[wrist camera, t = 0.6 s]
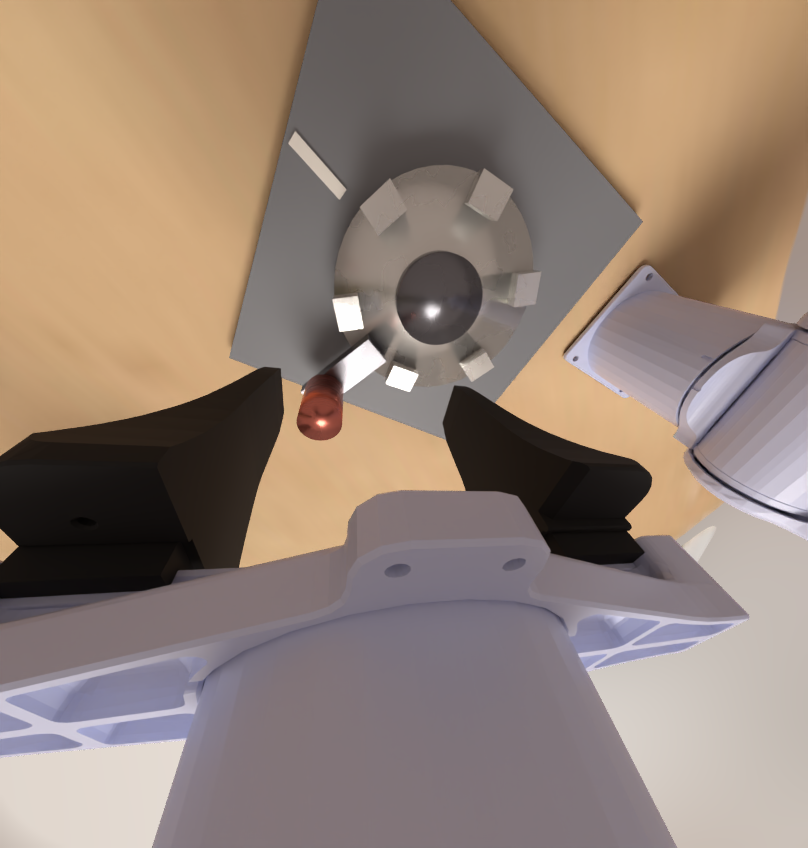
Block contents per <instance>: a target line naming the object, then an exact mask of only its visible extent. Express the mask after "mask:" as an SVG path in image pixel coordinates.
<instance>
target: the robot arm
mask: <svg viewBox="0 0 808 848" xmlns="http://www.w3.org/2000/svg"><path fill="white" fill-rule="evenodd" d="M648 274H649V275H648ZM647 275H648V277H647ZM646 277H647V278H646ZM575 356H576V357H575ZM574 357H575V358H574ZM573 358H574V359H573ZM564 359H565V360H566V361H568V362H569V363H571V364H572V365H574V366H575V367H577V368H578V369H580V370H581V371H583V372H584V373H586V374H588V375H589V376H591V377H592V378H594V379H595V380H597V381H598V382H600V383H601V384H603V385H604V386H606V387H607V388H609V389H611V390H612V391H614V392H615V393H617V394H618V395H620V396H621V397H623V398H627V397H629V396H631V397H632V398H634V399H635V400H637V401H638V402H640V403H641V404H643V405H644V406H646V407H648V408H649V409H651V410H652V411H654V412H655V413H657V414H658V415H660V416H661V417H663V418H664V419H666V420H668V421H669V422H671V423H672V424H674V425H675V426H677V427H678V429H677V431H676V433H675V434H674V436H673V437H674V438H675V439H677V440H678V441H680V442H681V443H683V444H684V445H686V446H687V447H688V449H687V450H686V451H685V452H684V457H683V458H684V462H685V464H686V466H687V467H688V469H689V470H690V471H691V473H692V475H693V476H694V478H695V479H696V480H697V481H698V482H699V483H700V484H701V485H702V486H703V487H704V488H706V489H707V490H708V491H709V492H711V493H712V494H713V495H715V496H716V497H718V498H719V499H721V500H722V501H724V502H726V503H727V504H729V505H731V506H733V507H735V508H736V509H738V510H740V511H743V512H745V513H747V514H749V515H751V516H754V517H756V518H759V519H762V520H765V521H768V522H771V523H773V524H775V525H777V526H780V527H782V528H784V529H786V530H788V531H790V532H792V533H794V534H796V535H798V536H800V537H802V538H804V539H806V540H807V541H808V312H807V313H806V314H804V316H803V317H802V318H801V319H800V320H799V321H798V322H797V324H795V323H787V322H783V321H779V320H775V319H771V318H767V317H763V316H758V315H754V314H750V313H746V312H742V311H738V310H734V309H730V308H726V307H722V306H718V305H714V304H710V303H706V302H702V301H698V300H694V299H690V298H686V297H682V296H679V295H678V294H677V293H676V292H675V291H674V290H673V289H672V288H671V286H670V285H669V284H668V283H667V282H666V281H665V280H664V279H663V278H662V277H661V276H660V275H659V274H658V273H657V272H656V271H655V270H654V269H653V267H652V266H650V265H643V266H641V267H640V268H639V269H638V270H637V271H636V272H635V273H634V274H633V275H632V277H631V278H630V279H629V280H628V281H627V282H626V283H625V285H624V286H623V287H622V288H621V289H620V290H619V291H618V293H617V294H616V295H615V296H614V297H613V298H612V299H611V301H610V302H609V303H608V304H607V305H606V306H605V308H604V309H603V310H602V311H601V312H600V313H599V314H598V316H597V317H596V318H595V319H594V320H593V321H592V322H591V324H590V325H589V326H588V327H587V328H586V329H585V330H584V332H583V333H582V334H581V335H580V336H579V337H578V338H577V340H576V341H575V342H574V343H573V344H572V345H571V346H570V348H569V349H568V350H567V351H566V352H565V354H564ZM283 414H284V406H283V392H282V377H281V368H273V367H262V368H259V369H257V370H255V371H253V372H252V373H250V374H248V375H246V376H244V377H242V378H240V379H239V380H237V381H235V382H233V383H231V384H229V385H227V386H225V387H223V388H221V389H218V390H216V391H214V392H212V393H210V394H208V395H205V396H203V397H200V398H198V399H195V400H192V401H190V402H187V403H184V404H181V405H178V406H175V407H171V408H168V409H164V410H160V411H157V412H153V413H150V414H146V415H142V416H137V417H133V418H128V419H124V420H119V421H113V422H108V423H103V424H97V425H91V426H84V427H77V428H70V429H63V430H55V431H48V432H40V433H33V434H31V435H30V436H28V437H27V438H25V439H24V440H23V441H21V442H20V443H18V444H17V445H15V446H14V447H13V448H11V449H10V450H8V451H7V452H5V453H4V454H2V455H1V456H0V529H1V530H2V531H3V532H4V533H5V534H6V535H8V536H9V537H10V538H11V539H12V540H13V541H14V542H15V543H16V544H17V545H18V546H19V547H18V548H17V549H16V550H15V551H14V552H13V553H12V554H11V555H10V556H9V557H7V558H6V559H5V560H4V561H3V562H2V561H0V758H2V757H12V756H20V755H21V756H22V755H31V754H41V753H51V752H63V751H73V750H85V749H95V748H106V747H117V746H128V745H138V744H148V743H160V742H171V741H180V740H181V741H182V740H186V742H185V745H184V749H183V752H182V755H181V758H180V761H179V765H178V768H177V771H176V774H175V778H174V780H173V783H172V787H171V789H170V793H169V796H168V799H167V802H166V805H165V808H164V812H163V815H162V818H161V821H160V824H159V827H158V830H157V834H156V837H155V840H154V843H153V846H152V848H677V846H676V844H675V843H674V841H673V839H672V837H671V835H670V833H669V831H668V829H667V827H666V825H665V823H664V821H663V819H662V817H661V815H660V813H659V811H658V809H657V808H656V806H655V804H654V802H653V800H652V798H651V796H650V794H649V792H648V790H647V788H646V786H645V784H644V782H643V780H642V778H641V776H640V774H639V772H638V770H637V768H636V767H635V764H634V762H633V761H632V759H631V757H630V755H629V753H628V751H627V749H626V747H625V745H624V743H623V741H622V739H621V737H620V735H619V733H618V731H617V729H616V727H615V725H614V724H613V721H612V720H611V718H610V716H609V714H608V712H607V710H606V708H605V706H604V704H603V702H602V700H601V698H600V696H599V694H598V692H597V690H596V688H595V686H594V685H593V682H592V681H591V679H590V677H589V675H588V673H587V672H588V671H592V670H597V669H601V668H605V667H609V666H614V665H618V664H622V663H627V662H631V661H636V660H641V659H646V658H650V657H656V656H662V655H667V654H673V653H679V652H683V651H686V650H688V649H690V648H692V647H694V646H696V645H698V644H700V643H702V642H704V641H706V640H708V639H710V638H712V637H714V636H716V635H718V634H720V633H722V632H724V631H726V630H728V629H730V628H732V627H734V626H736V625H738V624H740V623H742V622H745V621H747V620H749V614H747V613H746V611H745V610H744V609H743V608H742V607H741V606H740V605H739V604H738V603H737V602H735V600H734V599H732V597H731V596H730V595H729V594H728V593H727V592H726V591H725V590H724V589H723V588H722V587H721V586H720V585H719V584H718V583H717V582H716V581H715V580H714V579H713V578H712V577H711V576H710V575H709V574H708V573H707V572H706V571H705V570H704V569H703V568H702V567H701V566H700V565H699V564H698V563H697V562H696V561H695V560H694V559H693V558H692V557H691V556H690V555H689V554H688V553H687V552H686V551H685V550H684V549H683V548H682V547H681V546H680V545H679V544H678V543H677V542H676V541H675V540H674V539H673V538H672V537H671V536H668V535H655V536H641V537H638V538H636V539H633V538H632V537H631V535H630V534H629V533H628V532H627V531H629V530H630V529H631V528H632V527H631V524H630V523H629V522H628V521H627V520H626V519H625V517H626V516H627V515H628V514H629V513H630V512H631V511H632V510H633V509H634V508H635V507H636V506H637V505H638V504H639V503H640V502H641V501H642V499H643V498H644V497H645V496H646V495H647V493H648V492H649V490H650V488H651V483H652V477H651V475H650V473H649V472H648V471H647V470H646V469H645V468H644V467H642V466H641V465H640V464H639V463H638V462H636V461H634V460H632V459H629V458H625V457H621V456H617V455H613V454H609V453H605V452H602V451H598V450H595V449H592V448H588V447H585V446H582V445H579V444H576V443H573V442H571V441H568V440H565V439H563V438H560V437H558V436H555V435H553V434H550V433H548V432H546V431H543V430H541V429H539V428H537V427H535V426H533V425H531V424H529V423H527V422H525V421H523V420H522V419H520V418H518V417H516V416H515V415H513V414H511V413H509V412H508V411H506V410H505V409H503V408H501V407H500V406H498V405H497V404H495V403H494V402H492V401H491V400H489V399H488V398H486V397H484V396H483V395H481V394H480V393H478V392H477V391H475V390H473V389H471V388H469V387H467V386H457V385H454V387H453V390H452V394H451V397H450V400H449V403H448V406H447V410H446V413H445V416H444V419H443V422H442V424H443V428H444V433H445V437H446V441H447V444H448V446H449V449H450V451H451V454H452V456H453V459H454V461H455V464H456V466H457V468H458V471H459V473H460V476H461V478H462V481H463V484H464V486H465V490H466V491H416V490H400V491H394V492H388V493H382V494H377V495H376V496H374V497H372V498H371V499H369V500H367V501H366V502H364V503H362V504H361V505H359V506H357V507H356V509H355V511H354V513H353V514H352V516H351V518H350V520H349V522H348V529H347V538H346V541H345V544H344V545H341V546H337V547H332V548H328V549H324V550H319V551H315V552H311V553H306V554H302V555H298V556H293V557H289V558H284V559H280V560H276V561H271V562H267V563H263V564H258V565H254V566H250V567H244V568H239V564H240V559H241V555H242V550H243V546H244V541H245V537H246V533H247V528H248V524H249V520H250V516H251V512H252V508H253V504H254V501H255V497H256V493H257V489H258V486H259V483H260V480H261V477H262V474H263V472H264V469H265V467H266V464H267V462H268V459H269V457H270V454H271V452H272V450H273V447H274V445H275V442H276V440H277V437H278V434H279V432H280V428H281V424H282V419H283Z"/></svg>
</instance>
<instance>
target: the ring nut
mask: <svg viewBox="0 0 808 848" xmlns="http://www.w3.org/2000/svg"><path fill="white" fill-rule="evenodd" d="M513 190H514V189H512V188H511V187H510V186H508V185H507V184H506V183H504V182H503V181H501V180H500V179H499V178H497V177H496V176H494V175H493V174H492V173H490V172H489V171H488V170H486V169H485V168H483V169H480V170H478V172H476V171H473V170H470V169H468V168H464V167H459V166H453V165H432V166H427V167H422V168H417V169H414V170H412V171H409V172H407V173H404V174H401V175H400V176H398V177H396V178H395V179H393V180H391V179H389V180H388V181H387V182H385V183H384V184H383V185H382V186H381V187H380V188H379V189H378V190H377V191H376V192H375V193H374V194H373V195H372V196H371V197H370V198H368V199H367V200H366V201H365V202H364V203H363V204H362V205H361V206H360V209H359V211H358V212H357V214H356V215H355V217H354V218H353V220H352V221H351V223H350V225H349V227H348V229H347V231H346V233H345V235H344V238H343V241H342V244H341V247H340V249H339V253H338V257H337V262H336V267H335V277H334V296H333V298H332V300H333V304H334V309H335V313H336V318H337V322H338V326H339V331H340V332H342V331H343V332H344V334H345V337H346V339H347V340H348V342H349V344H350V345H351V347H350V348H349V349H348V350H347V351H345V352H344V353H343V354H341V355H340V356H339V357H338V358H336V359H335V360H334V361H333V362H331V363H330V364H329V365H328V366H326V367H325V368H324V369H322V370H321V371H320V372H319V373H317V374H316V375H315V376H314V377H312V378H311V379H310V380H309V381H307V382H306V383H305V384H304V385H303V386H302V390H301V393H302V394H303V398H302V402H301V405H300V409H299V413H298V417H297V426H298V429H299V430H300V432H301V433H302V434H303V435H305V436H306V437H308V438H310V439H314V440H328V439H331V438H333V437H335V436H336V435H337V434H338V433H339V432H340V430H341V427H342V412H343V393H345V392H346V391H347V390H349V389H350V388H352V387H353V386H354V385H356V384H357V383H358V382H360V381H361V380H362V379H364V378H365V377H366V376H368V375H369V374H370V373H372V372H373V371H375V372H377V373H378V374H380V375H382V376H383V377H385V383H386V384H388V385H391V386H394V387H397V388H400V389H403V390H406V391H409V392H410V390H411V388H412V386H416V387H432V386H440V385H445V384H449V383H452V382H455V381H458V380H461V379H463V378H465V377H467V376H468V378H469V379H470V380H471V382H473V381H474V380H476V379H477V378H479V377H480V376H482V375H483V374H485V373H486V372H488V371H489V370H491V369H492V368H494V366H493V364H492V362H491V360H492V359H493V358H494V357H495V356H496V355H497V354H498V353H499V352H500V351H501V350H502V348H503V347H504V346H505V345H506V344H507V342H508V341H509V339H510V338H511V337H512V335H513V334H514V332H515V330H516V328H517V327H518V325H519V323H520V321H521V319H522V316H523V314H524V312H525V309H526V306H528V305H535V304H536V299H537V294H538V288H539V283H540V277H541V271H538V270H535V269H534V270H533V253H532V246H531V240H530V237H529V233H528V229H527V226H526V224H525V222H524V219H523V217H522V215H521V213H520V211H519V210H518V208H517V206H516V205H515V203H514V201H513V200H512V199H511V198H510V196H511V194H512V192H513Z"/></svg>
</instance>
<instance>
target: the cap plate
mask: <svg viewBox="0 0 808 848" xmlns="http://www.w3.org/2000/svg"><path fill="white" fill-rule="evenodd" d="M432 165H453V166H459V167H464V168H468V169H470V170H473V171H476V172H478V170H480V169H483V168H485V169H486V170H488V171H489V172H490V173H492V174H493V175H494V176H496V177H497V178H499V179H500V180H501V181H503V182H504V183H506V184H507V185H508V186H510V187H511V188H512V189H514V190H513V192H512V194H511V196H510V198H511V199H512V200H513V201H514V203H515V205H516V206H517V208H518V210H519V211H520V213H521V215H522V217H523V219H524V222H525V224H526V226H527V229H528V233H529V237H530V240H531V246H532V253H533V270H534V269H535V270H538V271H541V277H540V283H539V288H538V294H537V299H536V304H535V305H528V306H526V309H525V312H524V314H523V316H522V319H521V321H520V323H519V325H518V327H517V328H516V330H515V332H514V334H513V335H512V337H511V338H510V339H509V341H508V342H507V344H506V345H505V346H504V347H503V348H502V350H501V351H500V352H499V353H498V354H497V355H496V356H495V357H494V358H493V359H492V360H491V362H492V364H493V366H494V368H492V369H491V370H489V371H488V372H486V373H485V374H483V375H482V376H480V377H479V378H477V379H476V380H474V381H473V382H471V380H470V379H469V378H468V376H467V377H465V378H463V379H461V380H458V381H455V382H452V383H449V384H445V385H440V386H432V387H416V386H412V388H411V390H410V392H409V391H406V390H403V389H400V388H397V387H394V386H391V385H388V384H386V383H385V377H383V376H382V375H380V374H378V373H377V372H375V371H373V372H372V373H370V374H369V375H368V376H366V377H365V378H364V379H362V380H361V381H360V382H358V383H357V384H356V385H354V386H353V387H352V388H350V389H349V390H347V391H346V392H345V393H343V401H345V402H347V403H350V404H353V405H355V406H358V407H361V408H363V409H366V410H369V411H371V412H374V413H376V414H379V415H382V416H384V417H387V418H390V419H392V420H395V421H398V422H400V423H403V424H406V425H408V426H411V427H414V428H416V429H419V430H421V431H424V432H427V433H429V434H432V435H435V436H437V437H440V438H443V439H445V440H446V437H445V433H444V428H443V424H442V422H443V419H444V416H445V413H446V410H447V406H448V403H449V400H450V397H451V394H452V390H453V387H454V385H457V386H467V387H469V388H471V389H473V390H475V391H477V392H478V393H480V394H481V395H483V396H484V397H486V398H488V399H489V400H491V401H492V402H494V403H495V402H496V401H497V399H498V398H499V397H500V396H501V395H502V393H503V392H504V391H505V390H506V388H507V387H508V386H509V385H510V384H511V382H512V381H513V380H514V379H515V377H516V376H517V375H518V374H519V373H520V371H521V370H522V369H523V368H524V366H525V365H526V364H527V363H528V362H529V360H530V359H531V358H532V357H533V355H534V354H535V353H536V352H537V351H538V349H539V348H540V347H541V346H542V344H543V343H544V342H545V341H546V340H547V338H548V337H549V336H550V335H551V333H552V332H553V331H554V330H555V329H556V327H557V326H558V325H559V324H560V322H561V321H562V320H563V319H564V318H565V316H566V315H567V314H568V313H569V311H570V310H571V309H572V308H573V307H574V305H575V304H576V303H577V302H578V300H579V299H580V298H581V297H582V296H583V294H584V293H585V292H586V291H587V289H588V288H589V287H590V286H591V285H592V283H593V282H594V281H595V280H596V278H597V277H598V276H599V275H600V274H601V272H602V271H603V270H604V269H605V267H606V266H607V265H608V264H609V263H610V261H611V260H612V259H613V258H614V256H615V255H616V254H617V253H618V252H619V250H620V249H621V248H622V247H623V245H624V244H625V243H626V242H627V241H628V239H629V238H630V237H631V236H632V234H633V233H634V232H635V231H636V230H637V228H638V227H639V226H640V225H641V223H642V222H643V221H642V220H641V219H640V218H639V217H638V215H637V214H636V213H635V212H634V211H633V210H632V208H631V207H630V206H629V205H628V204H627V203H626V202H625V200H624V199H623V198H622V197H621V196H620V195H619V194H618V192H617V191H616V190H615V189H614V188H613V187H612V185H611V184H610V183H609V182H608V181H607V180H606V179H605V177H604V176H603V175H602V174H601V173H600V172H599V171H598V169H597V168H596V167H595V166H594V165H593V164H592V162H591V161H590V160H589V159H588V158H587V157H586V156H585V154H584V153H583V152H582V151H581V150H580V149H579V147H578V146H577V145H576V144H575V143H574V142H573V141H572V139H571V138H570V137H569V136H568V135H567V134H566V133H565V131H564V130H563V129H562V128H561V127H560V126H559V124H558V123H557V122H556V121H555V120H554V119H553V118H552V116H551V115H550V114H549V113H548V112H547V111H546V110H545V108H544V107H543V106H542V105H541V104H540V103H539V101H538V100H537V99H536V98H535V97H534V96H533V95H532V93H531V92H530V91H529V90H528V89H527V88H526V87H525V85H524V84H523V83H522V82H521V81H520V80H519V78H518V77H517V76H516V75H515V74H514V73H513V72H512V70H511V69H510V68H509V67H508V66H507V65H506V64H505V62H504V61H503V60H502V59H501V58H500V57H499V55H498V54H497V53H496V52H495V51H494V50H493V49H492V47H491V46H490V45H489V44H488V43H487V42H486V40H485V39H484V38H483V37H482V36H481V35H480V34H479V32H478V31H477V30H476V29H475V28H474V27H473V26H472V24H471V23H470V22H469V21H468V20H467V19H466V17H465V16H464V15H463V14H462V13H461V12H460V11H459V9H458V8H457V7H456V6H455V5H454V4H453V3H452V1H451V0H318V3H317V7H316V11H315V15H314V19H313V23H312V27H311V31H310V35H309V39H308V43H307V47H306V51H305V55H304V59H303V63H302V67H301V71H300V75H299V79H298V83H297V87H296V91H295V95H294V99H293V103H292V107H291V111H290V115H289V119H288V123H287V127H286V131H285V135H284V139H283V143H282V147H281V152H280V156H279V160H278V164H277V168H276V172H275V176H274V180H273V184H272V188H271V192H270V196H269V200H268V204H267V208H266V212H265V216H264V220H263V224H262V228H261V232H260V236H259V240H258V244H257V248H256V252H255V256H254V260H253V264H252V268H251V272H250V276H249V280H248V284H247V288H246V292H245V296H244V300H243V304H242V308H241V313H240V317H239V321H238V325H237V329H236V333H235V337H234V341H233V345H232V349H231V353H230V357H229V358H231V359H234V360H236V361H239V362H242V363H244V364H247V365H250V366H252V367H255V368H257V369H259V368H262V367H273V368H281V377H282V378H284V379H287V380H289V381H292V382H294V383H297V384H300V385H302V386H303V385H304V384H305V383H306V382H307V381H309V380H310V379H311V378H312V377H314V376H315V375H316V374H317V373H319V372H320V371H321V370H322V369H324V368H325V367H326V366H328V365H329V364H330V363H331V362H333V361H334V360H335V359H336V358H338V357H339V356H340V355H341V354H343V353H344V352H345V351H347V350H348V349H349V348H350V347H351V345H350V344H349V342H348V340H347V339H346V337H345V334H344V332H343V331H342V332H340V331H339V326H338V322H337V318H336V313H335V309H334V304H333V300H332V298H333V296H334V277H335V267H336V262H337V257H338V253H339V249H340V247H341V244H342V241H343V238H344V235H345V233H346V231H347V229H348V227H349V225H350V223H351V221H352V220H353V218H354V217H355V215H356V214H357V212H358V211H359V209H360V206H361V205H362V204H363V203H364V202H365V201H366V200H367V199H368V198H370V197H371V196H372V195H373V194H374V193H375V192H376V191H377V190H378V189H379V188H380V187H381V186H382V185H383V184H384V183H385V182H387V181H388V180H389V179H391V180H393V179H395V178H396V177H398V176H400V175H401V174H404V173H407V172H409V171H412V170H414V169H417V168H422V167H427V166H432Z"/></svg>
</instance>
